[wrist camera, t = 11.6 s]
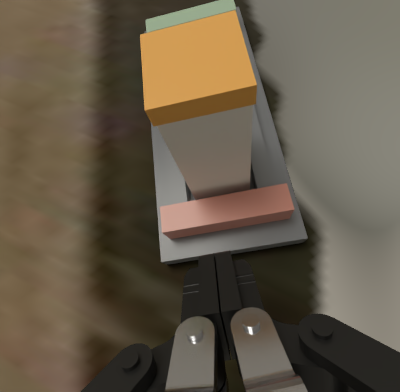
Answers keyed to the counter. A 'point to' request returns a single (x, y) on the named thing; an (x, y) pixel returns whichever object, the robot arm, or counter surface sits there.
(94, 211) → the counter surface
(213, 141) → the orange-capped white pillar
